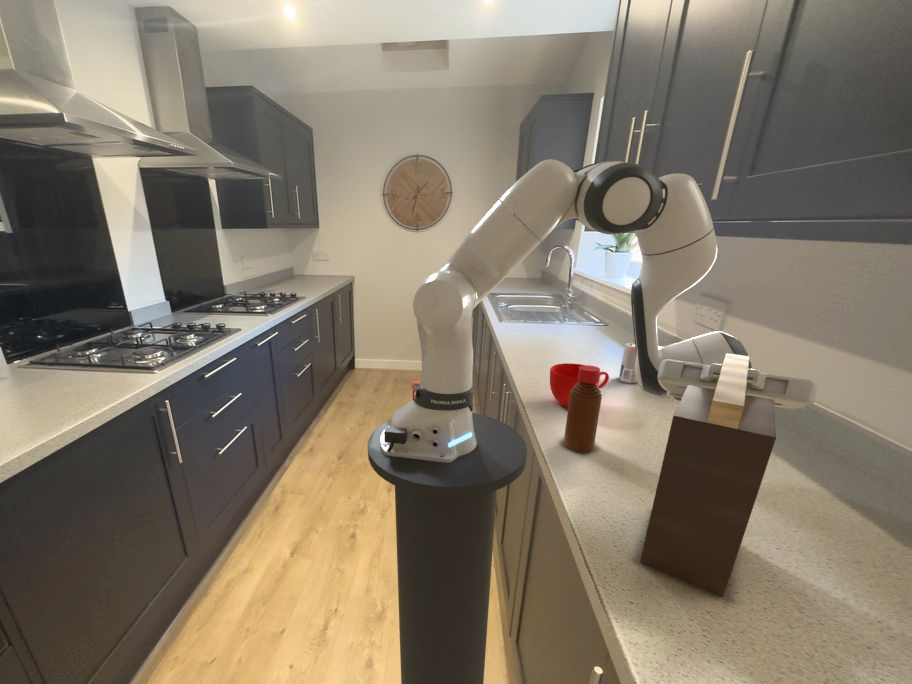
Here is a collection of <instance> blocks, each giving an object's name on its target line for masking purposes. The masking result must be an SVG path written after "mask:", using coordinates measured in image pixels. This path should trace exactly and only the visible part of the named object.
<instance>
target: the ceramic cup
mask: <svg viewBox="0 0 912 684" xmlns="http://www.w3.org/2000/svg"><path fill="white" fill-rule="evenodd" d="M583 365H584V364H582V363H572V362H571V363H565V362H564V363H557V364H554V365H552V366H551V367H550V369H549V388H550V392H551V393H552V395H553V397H554V399H555V400H556V401H557V403H558V404H559V405H560V406H562V407H565V408H568V405H569V398H570V391H571V390H572V387H574V386H575V385H576V384H577V383H578V382H579V380H578V372H579V367H580V366H583ZM601 376H604V379H603V381H602V382H601V383H600V380H601ZM609 379H610V375H609V373H608V372H606V371H600V374H599V380H598V382H597V383H596V384H597V385H598V387H599V389H600V390H601V389H602V388H604V386H606V385H607V383H608V382H609Z"/></svg>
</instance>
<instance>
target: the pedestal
mask: <svg viewBox="0 0 912 684" xmlns="http://www.w3.org/2000/svg"><path fill="white" fill-rule="evenodd" d="M714 394H715V390H714V389H709V388H703V387H697V386H691V385H687V388H686V390H685V392H684V394H683V396H682V398H681V400H680V401H679V403H678V405H677V407H676V409H675V411H674V414H673V416H672V420H671V424H670V428H669V432H668V438H667V442H666V446H665V450H664V455H663V459H662V464H661V467H660V472H659V476H658V481H657V485H656V490H655V494H654V498H653V503H652V508H651V512H650V515H649V519H648V520H649V521H648V525H647V529H646V534H645V538H644V542H643V546H642V551H641V556H640V559H639V562H640V563H641V564H644V565H645V566H649V567H651V568H653V569H655V570H658V571H660V572H663V573H665V574H668V575H670V576H673V577H675V578H677V579H679V580H682V581H685V582H687V583H689V584H692V585H694V586H696V587H698V588H701V589H703V590H706V591H709V592H711V593H714V594H715V595H717V596H721V597H724V596H725V593H726V591H727V587H728V585H729V581H730V579H731V575H732V572H733V570H734V568H735V567H734V566H735V564H736V560H737V557H738V555H739V552H740V548H741V545H742V542H743V539H744V537H745V533H746V531H747V527H748V524H749V521H750V518H751V515H752V512H753V509H754V506H755V503H756V500H757V497H758V494H759V491H760V489H761V486H762V482H763V479H764V476H765V473H766V470H767V467H768V464H769V461H770V459H771V456H772V455H771V454H772V452H773V449H774V446H775V443H776V440H777V429H776V427H777V426H776V412H775V407H774V400H773V399H767V398H761V397H755V396H749V395H745V403H744V409H743V412H742V415H741V419H740V422H739V426H738V429H735V428H730V427H726V426H721V425H716V424H712V423H707V420H708V416H709V412H710V408H711V404H712V400H713V397H714Z"/></svg>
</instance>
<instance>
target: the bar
mask: <svg viewBox="0 0 912 684" xmlns="http://www.w3.org/2000/svg"><path fill="white" fill-rule="evenodd" d="M749 359H750V356H749V355H748V356H743V355H736V354H728V353H726V356H725V359H724V362H723V366H722V369H721V373H720V376H719V380H718V383H717V387H716V390H715V394H714V397H713V400H712V404H711V408H710V412H709V416H708V420H707V423H712V424H716V425H721V426H726V427H730V428H735V429H738V426H739V422H740V419H741V415H742V412H743V409H744V403H745V394H746V384H747V375H748V366H749Z"/></svg>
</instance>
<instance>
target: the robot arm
mask: <svg viewBox="0 0 912 684" xmlns="http://www.w3.org/2000/svg"><path fill="white" fill-rule="evenodd" d="M573 219H574V220H576V221H578V222H579V223H580V224H581V225H583V226H584V227H585V228H587V229H590V230H592V231H596V232H598V233H600V234H604V235H621V234H626V233H629V232H630V233H631V232H633V233H634V235H635V237H636V238H637V243H638V246H639V250H640V253H641V257H642V266H641V271H640V273H639V276H638V277H637V278H636V279H635V280H634V282H632V284H631V289H630V305H631V318H632V328H633V338H634V343H635V349H636V363H635V373H636V378H637V383H638V385H639V386H640V387H641V389H642V390H643V391H644V392H646V393H648V394H652V395H654V396H657V397H664V396H667V398H670V399H673V400H676V401H679V402H680V400H681V398H682V396H683V394H684V392H685V390H686V388H687V385H691V386H697V387H703V388H709V389H714V390H716V387H717V383H718V380H719V376H720V373H721V369H722V366H723V362H724V359H725V356H726V353H728V354H736V355H743V356H749V354H748V352H747V349H746V348H745V346H744V345H743V343H742V342H741V340H739V339H738V338H737V337H735V336H733V335H731V334H729V333H727V332H725V331H720V330H717V331H713V332H708V333H704V334H702V335H699V336H695V337H691V338H688V339H685V340H682V341H679V342H675V343H670V344H667V345H663V346H659V338H658V325H657V322H658V321H657V319H658V316H659V314H660V312H661V311H662V310H663V309H664V308H665V307H666V306H667V305H668V304H669V303H670V302H672V301H673V300H674V299H676V298H677V297H678V296H680V295H681V294H683V293H684V292H686V291H687V290H689V289H691V288H692V287H693V286H695V285H696V284H697V283H699V282H700V281H701V280H702V279H703V278H704V277H705V276H706V275H707V274H708V273H709V271H710V270H711V269H712V267H713V265H714V264H715V262H716V259H717V256H718V244H717V243H718V242H717V236H716V231H715V227H714V223H713V219H712V215H711V213H710V209H709V206H708V204H707V201H706V199H705V197H704V194H703V193H702V191H701V188H700V186H699V185H698V183H697V181H696V180H695V179H694V177H693V176H691V175H689V174H686V173H682V172H681V173H680V172H679V173H670V174H665V175H662V176H660V177H658V176H656V175H655V174H654V173H652V172H651V171H650V170H649V169H648V168H646V167H644V166H642V165H641V164H638V163H636V162H635V163H634V162H627V161H623V160H613V159H612V160H606V161H598V162H594V163H591V164H588V165H585V166H583V167H580V168H578V169H574V170H572V168H571V167H569V166H568V165H567V164H566V163H564V162H563V161H560V160H557V159H551V158H549V159H545V160H542V161H540V162H538V163H537V164H535V165H534V166H533V167H532V168H530V169H529V170H528V171H527V172H525V173H524V174H523V175H522V176H521V177H520V178H519V179H518V180H516V182H514V183H513V184H512V185H511V187H509V188H508V189H507V190H506V191H505V192H504V193H503V194H502V196H500V198H499V199H498V200H497V201H496V202H495V204H494V205H493V206H492V207H491V208H490V209H489V210H488V211H487V213H486V214H485V215H484V216H483V217H482V218H481V219H480V220H479V222H478V223H477V224H476V225H475V226H474V227H473V228H472V229H471V230H470V232H468V234H467V235H466V237H465V238H464V239H463V240H462V242H461V244H460V245H459V246H458V247H457V248H456V250H455V251H454V252H453V254H452V255H451V256H450V257H449V259H448V260H447V261H446V262H445V263H444V265H443V266H442V267H440V269H439V270H438V271H436V272H435V273H432V274H430V275H429V276H427V277H426V278H424V279H423V280H422V281H421V282H420V284H419V285H418V287H417V289H416V290H415V292H414V297H413V301H412V310H413V315H414V316H415V318H416V325H417V326H416V327H417V333H418V336H419V337H418V338H419V343H420V353H421V382H420V381H419V380H414V381H413V382H411V389H412V400H410V401H409V402H407V403H405V404H404V405H402V406H401V407H399V408H398V409H397V410H396V411H394V413H393V414H392V417H391V418H390V420H391V422H390V426H389V427H387V428H386V429H385V430H384V431H383V433H382V435H381V438H380V449H381V451H382V453H383V454H384V455H387V456H395V457H403V458H411V459H419V460H427V461H435V462H443V463H450V462H452V461H454V460H455V459H456V458H457V457H459V456H462V455H465V454H467V453H469V452H471V451H473V450H474V449H475V447H476V446H477V440H476V437H475V433H474V427H473V419H472V413H473V410H474V406H475V405H474V404H475V388H474V384H473V370H474V369H473V368H474V348H473V329H472V328H473V325H472V316H473V315H472V314H473V311H474V309H475V308H476V307H477V306H478V305H480V303H481V302H482V301H483V300H484V299H485V298H486V297H487V296H489V294H490V293H491V292H492V291H493V290H494V289H495V288H497V287H498V286H499V284H500V283H502V282H503V281H504V280H505V279H506V278H507V277H508V276H509V275H510V274H511V273H513V271H514V270H515V269H516V268H517V267H518V266H519V265H520V264H521V263H522V262H523V261H524V260H525V259H526V258H527V257H528V256H529V255H530V254H531V253H532V252H533V251H534V250H535V249H536V248H537V247H538V246H539V245H540V244H541V243H542V242H543V241H544V240H545V239H546V238H547V237H548V236H549V235H550V234H551V232H552V231H553V230H554V229H555V228H557V227H558V226H560V225H561V224H563V223H565V222H566V221H569V220H573ZM818 389H819V384H818V383H817V382H816V381H814V380H811V379H805V378H798V377H791V376H784V375H777V374H771V373H764V372H761V370H760V369H755V368H754V369H753V366H752V362H751V359H750V358H749V366H748V375H747V384H746V394H745V395H749V396H755V397H761V398H767V399H773V400H774V408H780V409H786V410H801V409H805V408H809V407H810V406H812V405H813V404H814V403H815V400H816V397H817V394H818Z"/></svg>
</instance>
